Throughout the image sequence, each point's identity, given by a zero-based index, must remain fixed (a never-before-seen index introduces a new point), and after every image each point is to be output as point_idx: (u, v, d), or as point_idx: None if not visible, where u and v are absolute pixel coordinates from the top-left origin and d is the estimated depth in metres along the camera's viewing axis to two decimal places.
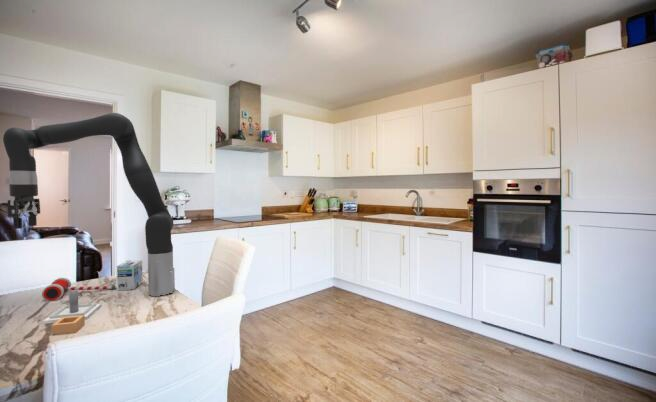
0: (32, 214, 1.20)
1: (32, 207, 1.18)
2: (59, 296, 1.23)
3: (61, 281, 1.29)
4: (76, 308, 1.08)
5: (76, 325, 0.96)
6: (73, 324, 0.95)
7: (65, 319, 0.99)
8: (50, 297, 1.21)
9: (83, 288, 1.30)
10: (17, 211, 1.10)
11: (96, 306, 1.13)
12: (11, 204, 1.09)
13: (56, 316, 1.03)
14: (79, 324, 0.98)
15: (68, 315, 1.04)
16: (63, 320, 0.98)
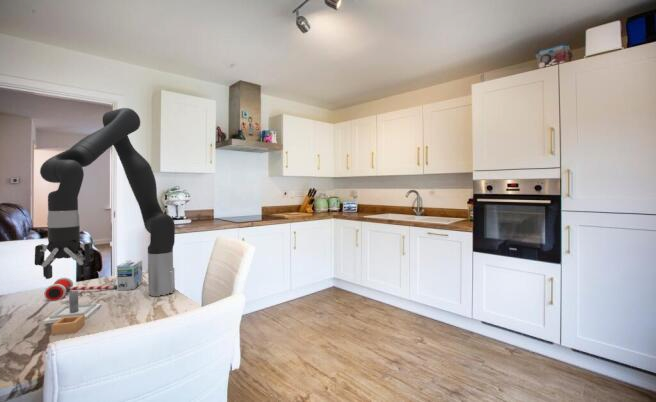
0: (49, 264, 0.96)
1: None
2: (61, 296, 1.23)
3: (63, 281, 1.29)
4: (76, 308, 1.08)
5: (76, 325, 0.96)
6: (73, 324, 0.95)
7: (65, 319, 0.99)
8: (52, 297, 1.22)
9: (85, 288, 1.30)
10: None
11: (96, 306, 1.13)
12: (90, 248, 0.98)
13: (56, 316, 1.03)
14: (79, 324, 0.98)
15: (68, 315, 1.04)
16: (63, 320, 0.98)
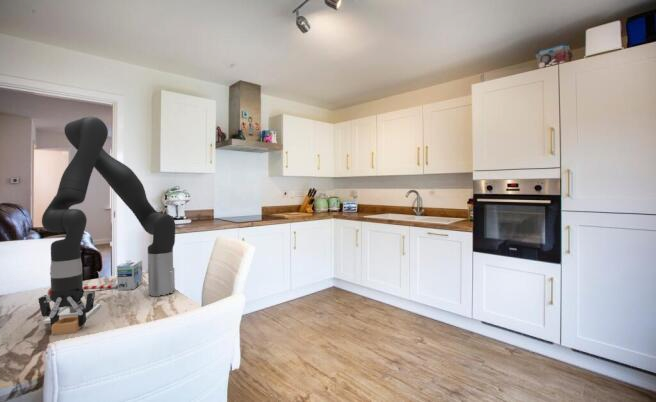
0: (56, 314, 0.96)
1: None
2: None
3: None
4: None
5: (76, 325, 0.96)
6: (73, 324, 0.95)
7: (65, 319, 0.99)
8: None
9: (88, 287, 1.31)
10: None
11: (96, 306, 1.13)
12: (92, 297, 0.99)
13: None
14: None
15: (68, 315, 1.04)
16: (63, 320, 0.98)
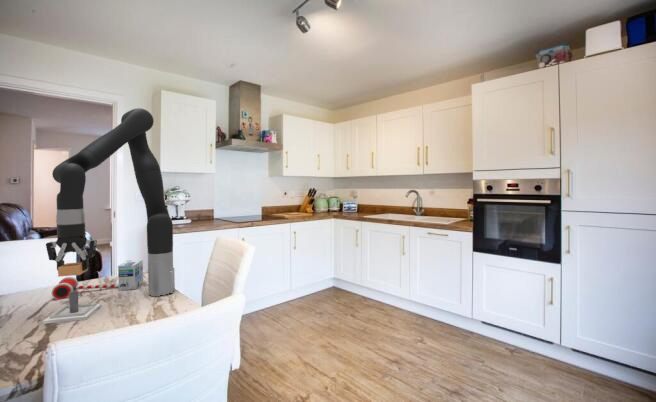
0: (61, 259, 1.06)
1: None
2: None
3: (69, 280, 1.30)
4: (76, 308, 1.08)
5: (80, 268, 1.06)
6: (77, 267, 1.05)
7: (70, 265, 1.09)
8: (60, 296, 1.23)
9: (91, 287, 1.32)
10: None
11: (96, 306, 1.13)
12: (94, 244, 1.09)
13: (56, 316, 1.03)
14: None
15: (68, 315, 1.04)
16: (68, 265, 1.08)
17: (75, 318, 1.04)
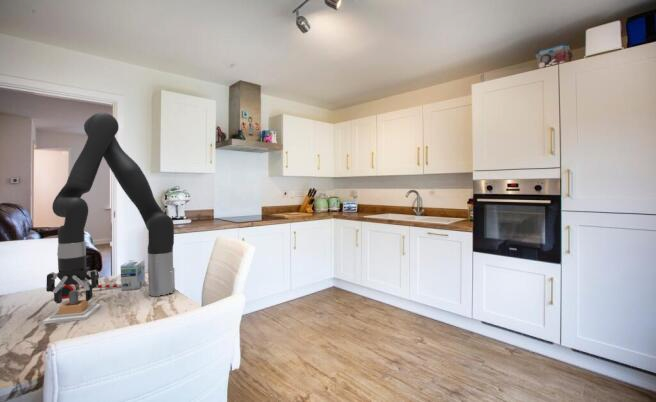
0: (59, 290, 1.07)
1: None
2: None
3: None
4: None
5: (81, 307, 1.07)
6: (78, 306, 1.06)
7: None
8: (63, 295, 1.23)
9: None
10: None
11: (96, 306, 1.13)
12: (95, 274, 1.10)
13: (56, 316, 1.03)
14: (83, 307, 1.09)
15: (68, 315, 1.04)
16: None
17: (75, 318, 1.04)
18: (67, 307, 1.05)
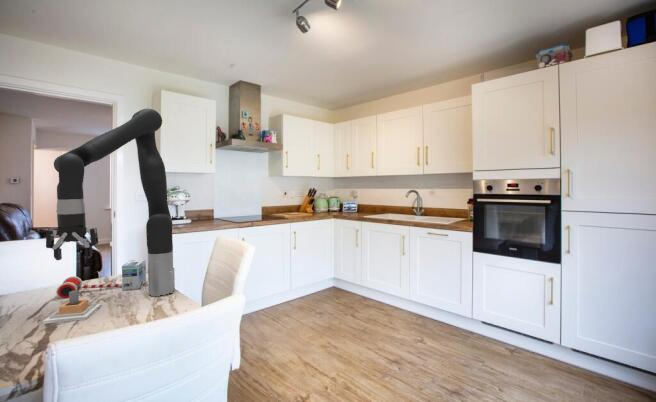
0: (58, 247, 1.07)
1: None
2: None
3: (73, 279, 1.31)
4: None
5: (81, 307, 1.07)
6: (78, 306, 1.06)
7: None
8: (64, 295, 1.24)
9: (95, 286, 1.33)
10: None
11: (96, 306, 1.13)
12: (95, 232, 1.10)
13: (56, 316, 1.03)
14: (83, 307, 1.09)
15: (68, 315, 1.04)
16: None
17: (75, 318, 1.04)
18: (67, 307, 1.05)
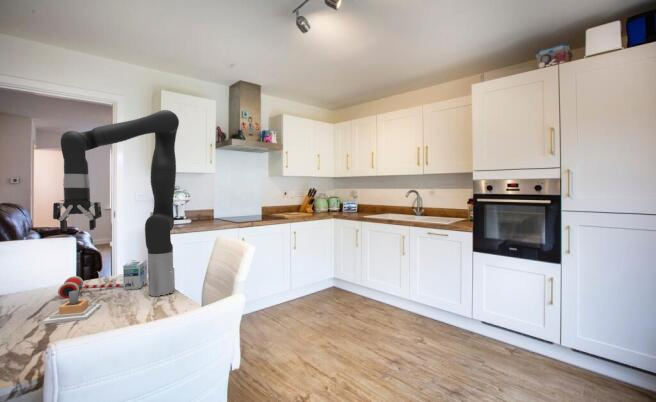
0: (64, 218, 1.15)
1: None
2: None
3: (74, 279, 1.31)
4: None
5: (81, 307, 1.07)
6: (78, 306, 1.06)
7: None
8: (66, 295, 1.24)
9: (97, 286, 1.33)
10: None
11: (96, 306, 1.13)
12: (99, 206, 1.18)
13: (56, 316, 1.03)
14: (83, 307, 1.09)
15: (68, 315, 1.04)
16: None
17: (75, 318, 1.04)
18: (67, 307, 1.05)
